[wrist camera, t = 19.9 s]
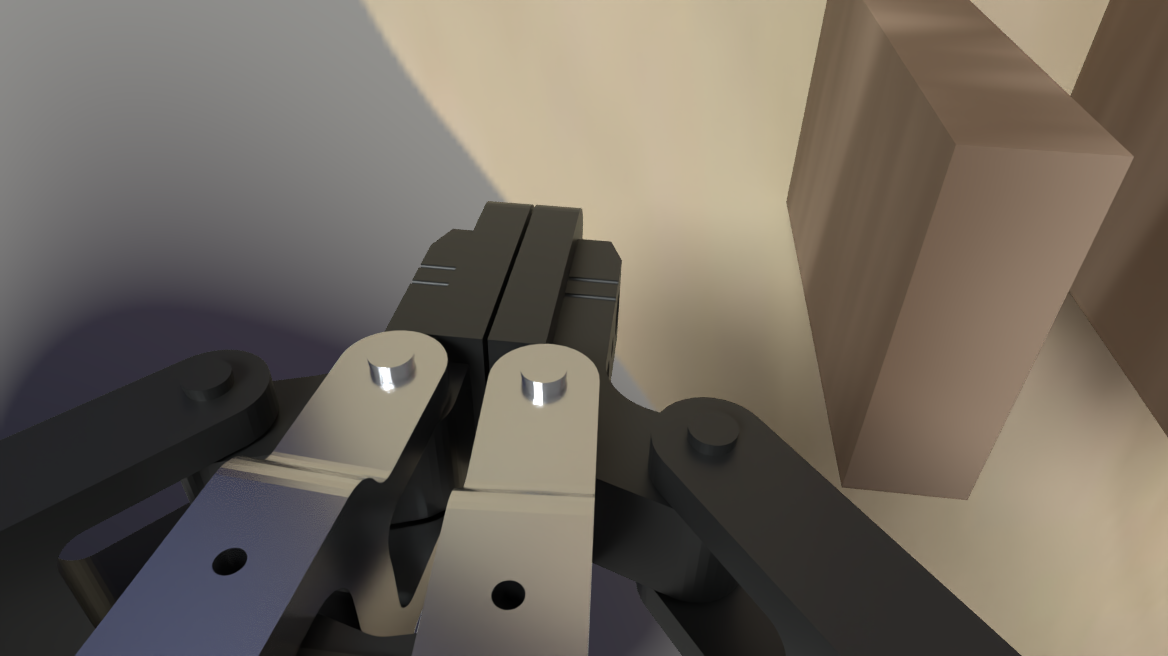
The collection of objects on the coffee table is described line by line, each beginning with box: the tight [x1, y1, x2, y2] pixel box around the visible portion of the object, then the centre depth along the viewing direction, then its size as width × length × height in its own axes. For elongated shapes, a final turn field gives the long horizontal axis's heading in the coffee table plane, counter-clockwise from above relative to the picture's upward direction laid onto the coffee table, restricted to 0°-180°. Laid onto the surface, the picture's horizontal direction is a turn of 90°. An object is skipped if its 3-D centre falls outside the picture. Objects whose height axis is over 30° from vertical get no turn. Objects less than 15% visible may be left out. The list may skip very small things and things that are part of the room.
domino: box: [787, 0, 1134, 500], centre depth 15 cm, size 2×6×10 cm, turn 179°
